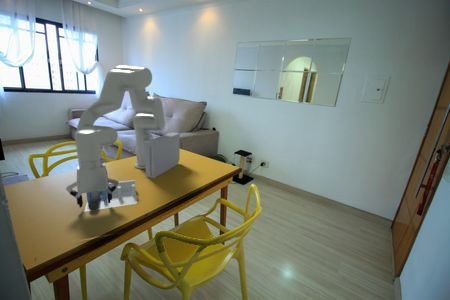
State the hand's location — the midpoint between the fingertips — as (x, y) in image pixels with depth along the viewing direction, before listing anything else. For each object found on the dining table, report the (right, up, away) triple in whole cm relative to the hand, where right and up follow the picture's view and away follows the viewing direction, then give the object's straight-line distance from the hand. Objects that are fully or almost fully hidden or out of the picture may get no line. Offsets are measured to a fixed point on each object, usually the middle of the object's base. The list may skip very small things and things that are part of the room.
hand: (95, 203), depth 86 cm
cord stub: (-2, -1, +3) cm, 4 cm away
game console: (+15, +9, +43) cm, 46 cm away
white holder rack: (+2, 0, +9) cm, 9 cm away
